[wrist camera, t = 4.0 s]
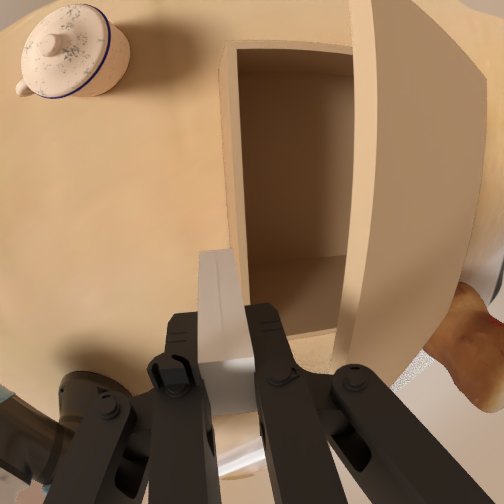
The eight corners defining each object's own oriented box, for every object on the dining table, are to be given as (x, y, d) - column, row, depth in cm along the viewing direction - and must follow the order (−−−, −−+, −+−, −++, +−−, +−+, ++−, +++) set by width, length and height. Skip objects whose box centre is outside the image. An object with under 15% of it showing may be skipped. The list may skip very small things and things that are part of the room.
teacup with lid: (120, 11, 23) (85, -25, 12) (144, 75, 27) (112, 60, 17) (33, 63, 23) (-25, 56, 13) (54, 125, 27) (-4, 138, 17)
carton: (386, 251, 41) (443, 307, 29) (232, 268, 39) (245, 346, 26) (398, 79, 30) (478, 80, 18) (218, 69, 28) (226, 40, 15)
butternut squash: (466, 278, 47) (550, 361, 25) (428, 333, 52) (495, 424, 30) (428, 255, 43) (534, 356, 21) (384, 321, 48) (461, 436, 25)
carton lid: (442, 309, 29) (448, 311, 28) (310, 449, 17) (318, 456, 16) (478, 77, 18) (486, 79, 17) (344, -30, 6) (365, -34, 5)
